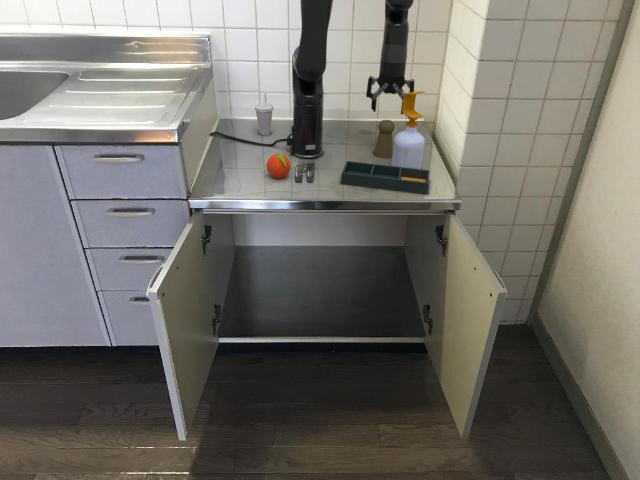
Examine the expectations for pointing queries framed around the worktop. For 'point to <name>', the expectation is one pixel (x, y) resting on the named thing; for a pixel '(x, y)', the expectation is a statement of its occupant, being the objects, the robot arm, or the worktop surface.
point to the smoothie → (264, 117)
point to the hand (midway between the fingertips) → (388, 112)
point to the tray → (385, 177)
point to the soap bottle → (409, 137)
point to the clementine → (278, 165)
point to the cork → (384, 139)
